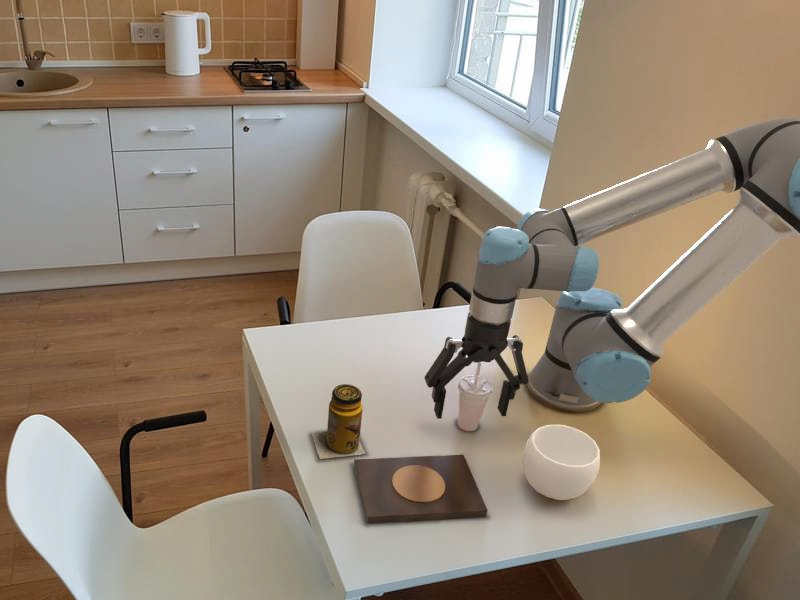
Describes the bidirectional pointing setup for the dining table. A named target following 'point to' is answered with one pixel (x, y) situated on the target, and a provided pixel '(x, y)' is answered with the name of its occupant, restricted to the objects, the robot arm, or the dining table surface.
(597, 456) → the cup
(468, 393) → the smoothie
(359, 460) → the board
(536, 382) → the robot arm
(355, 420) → the condiment
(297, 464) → the dining table surface
